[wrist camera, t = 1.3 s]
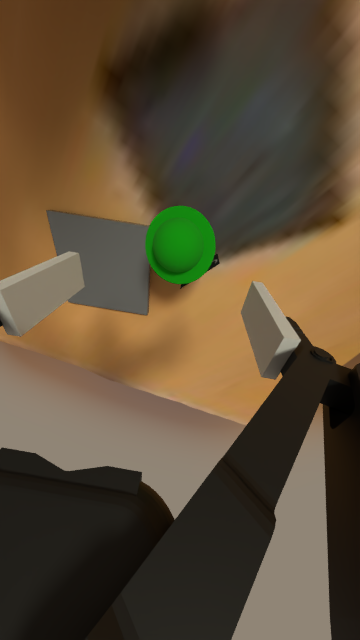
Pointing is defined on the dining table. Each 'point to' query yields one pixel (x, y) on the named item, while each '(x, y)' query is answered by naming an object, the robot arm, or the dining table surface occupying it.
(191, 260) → the toy
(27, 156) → the dining table surface
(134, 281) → the plate
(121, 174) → the dining table surface
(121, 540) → the robot arm
